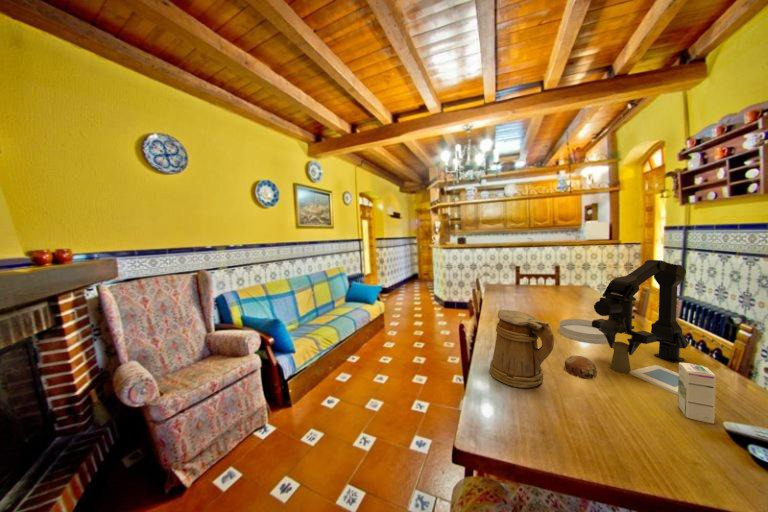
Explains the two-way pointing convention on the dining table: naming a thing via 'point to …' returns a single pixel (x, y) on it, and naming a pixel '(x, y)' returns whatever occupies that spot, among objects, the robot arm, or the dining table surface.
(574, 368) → the bread roll
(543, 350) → the tankard
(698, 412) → the syrup box
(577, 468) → the dining table surface
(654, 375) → the plate
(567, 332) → the dish
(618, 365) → the cork
